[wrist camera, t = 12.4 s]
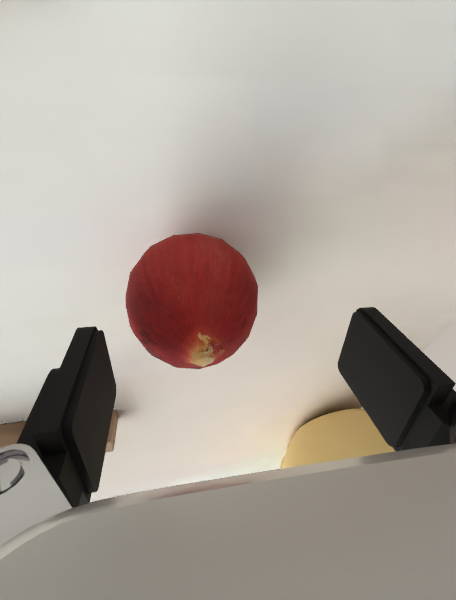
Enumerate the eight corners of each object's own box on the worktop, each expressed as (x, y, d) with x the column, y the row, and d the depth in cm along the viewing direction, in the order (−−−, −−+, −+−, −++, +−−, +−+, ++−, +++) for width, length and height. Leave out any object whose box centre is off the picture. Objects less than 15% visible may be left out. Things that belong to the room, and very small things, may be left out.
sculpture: (247, 428, 26) (292, 599, 17) (378, 370, 25) (500, 518, 16) (287, 481, 32) (334, 626, 23) (392, 437, 31) (485, 570, 22)
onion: (220, 316, 19) (251, 426, 12) (125, 299, 17) (101, 418, 10) (253, 229, 16) (315, 310, 10) (144, 198, 14) (128, 272, 8)
